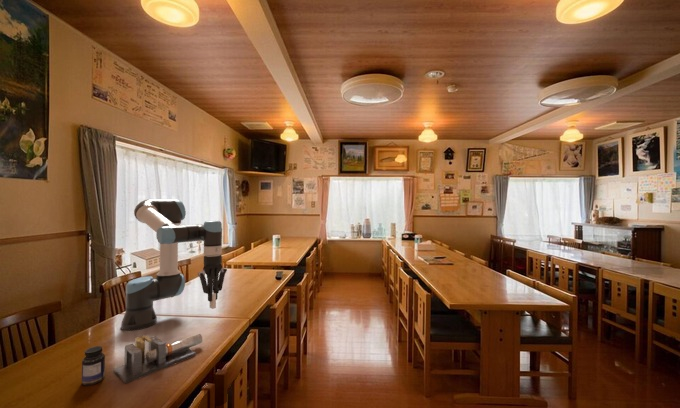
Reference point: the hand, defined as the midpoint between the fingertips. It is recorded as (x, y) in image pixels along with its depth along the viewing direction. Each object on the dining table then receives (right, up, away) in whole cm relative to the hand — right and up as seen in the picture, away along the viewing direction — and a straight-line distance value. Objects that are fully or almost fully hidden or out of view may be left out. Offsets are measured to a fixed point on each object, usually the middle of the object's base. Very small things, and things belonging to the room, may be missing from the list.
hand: (212, 307), depth 132 cm
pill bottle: (-29, -15, -29) cm, 44 cm away
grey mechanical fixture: (-14, -15, -18) cm, 27 cm away
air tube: (-10, -14, -12) cm, 21 cm away
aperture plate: (-18, -14, -20) cm, 30 cm away
